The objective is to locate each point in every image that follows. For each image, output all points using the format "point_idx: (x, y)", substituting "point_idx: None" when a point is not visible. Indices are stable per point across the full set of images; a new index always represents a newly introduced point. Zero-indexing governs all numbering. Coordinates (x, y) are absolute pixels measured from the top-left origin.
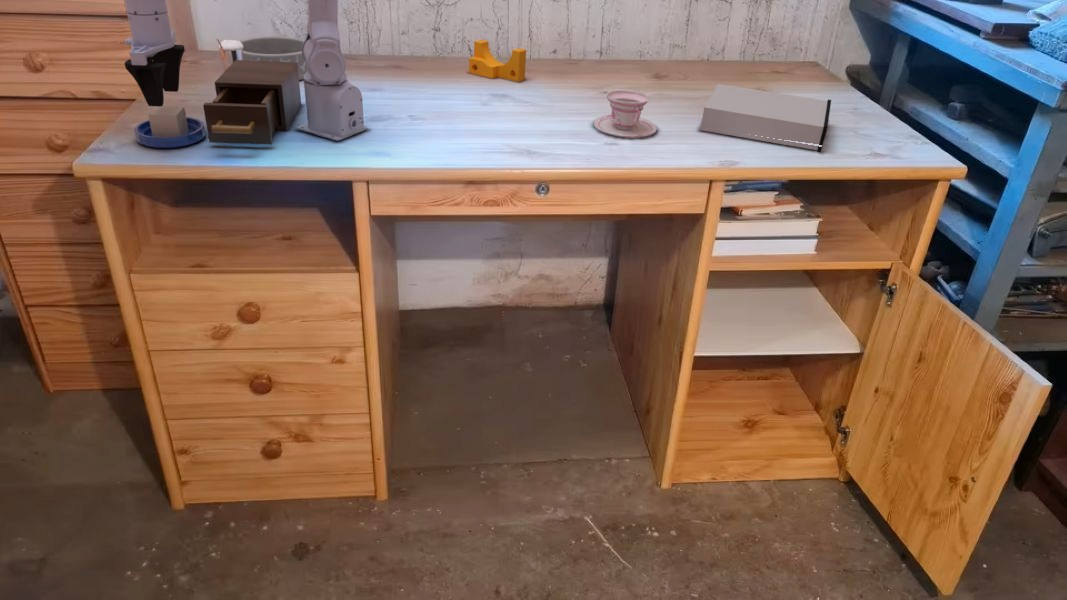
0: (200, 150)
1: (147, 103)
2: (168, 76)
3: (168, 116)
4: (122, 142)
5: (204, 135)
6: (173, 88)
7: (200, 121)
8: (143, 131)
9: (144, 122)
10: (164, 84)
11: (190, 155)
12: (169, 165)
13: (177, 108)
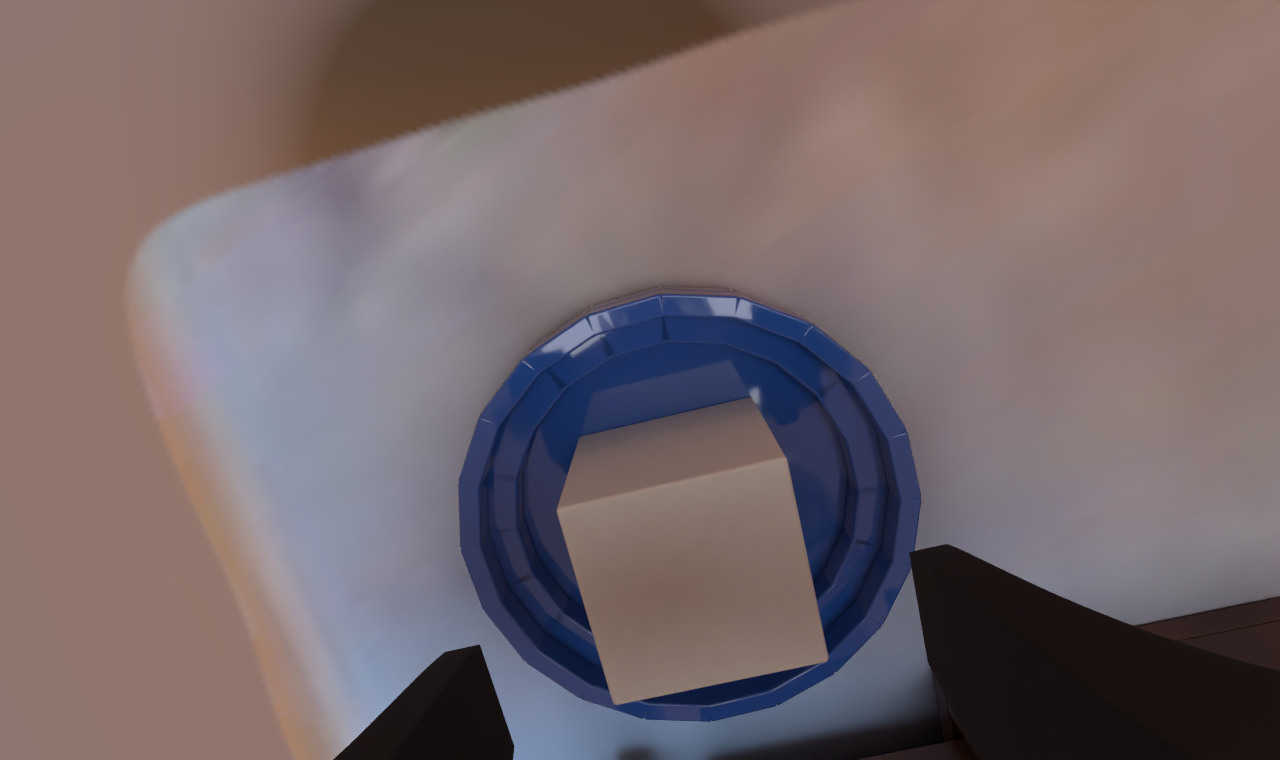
0: (562, 721)
1: (435, 660)
2: (1003, 721)
3: (598, 647)
4: (517, 243)
5: None
6: (938, 656)
7: (850, 649)
8: (625, 349)
9: (714, 316)
10: (945, 600)
11: None
12: (309, 685)
13: (766, 640)
